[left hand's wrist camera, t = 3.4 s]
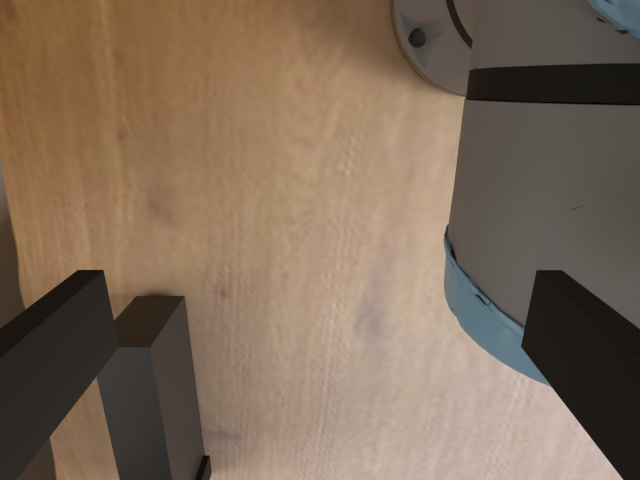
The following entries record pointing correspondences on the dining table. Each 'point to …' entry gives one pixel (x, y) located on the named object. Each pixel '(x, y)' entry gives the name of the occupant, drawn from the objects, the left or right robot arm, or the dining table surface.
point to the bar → (153, 393)
